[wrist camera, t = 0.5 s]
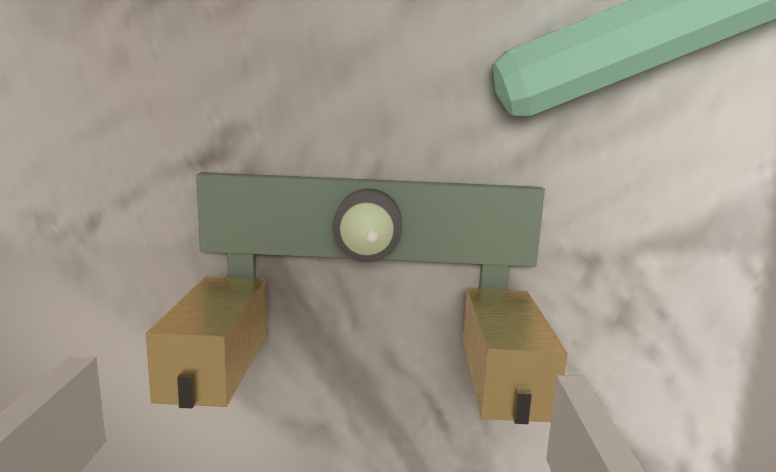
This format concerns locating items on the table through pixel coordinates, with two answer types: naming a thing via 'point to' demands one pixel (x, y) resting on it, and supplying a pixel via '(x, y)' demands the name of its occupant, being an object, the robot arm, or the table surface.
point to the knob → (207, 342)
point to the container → (616, 48)
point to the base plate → (369, 221)
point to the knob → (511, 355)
